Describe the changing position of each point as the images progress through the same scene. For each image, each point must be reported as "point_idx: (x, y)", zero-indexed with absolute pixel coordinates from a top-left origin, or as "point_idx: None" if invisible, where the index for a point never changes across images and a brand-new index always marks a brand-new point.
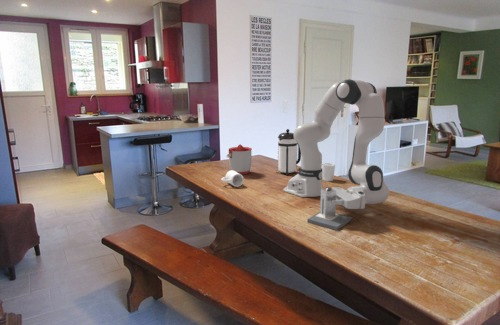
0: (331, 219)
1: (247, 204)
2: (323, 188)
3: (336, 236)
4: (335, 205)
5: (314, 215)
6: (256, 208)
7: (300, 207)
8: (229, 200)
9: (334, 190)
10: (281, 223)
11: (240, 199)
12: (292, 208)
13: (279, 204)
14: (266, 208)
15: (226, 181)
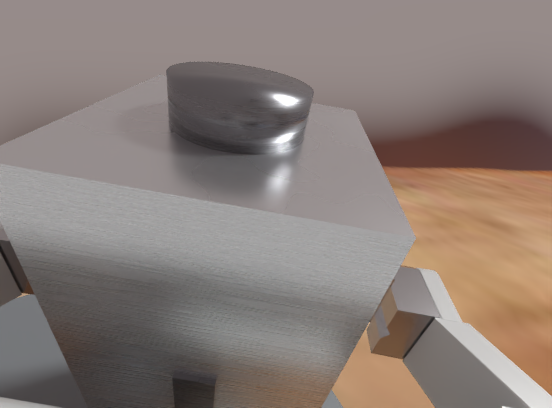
0: None
1: (485, 189)
2: (360, 126)
3: None
4: (96, 405)
5: None
6: (444, 191)
7: (506, 355)
8: (514, 173)
9: (86, 156)
10: None
11: (540, 194)
12: (470, 298)
13: (528, 272)
14: (449, 211)
15: None
